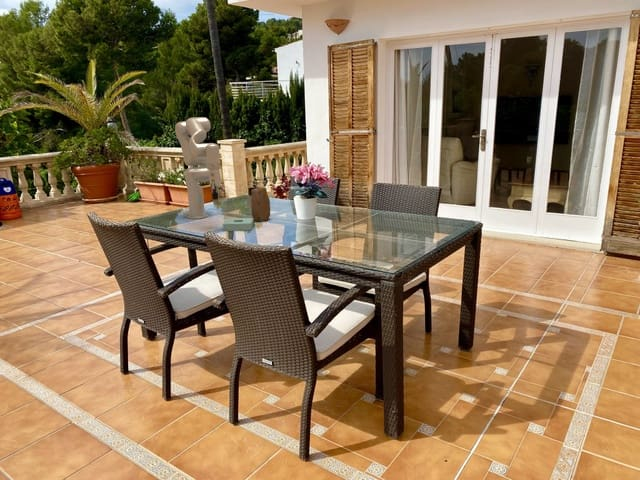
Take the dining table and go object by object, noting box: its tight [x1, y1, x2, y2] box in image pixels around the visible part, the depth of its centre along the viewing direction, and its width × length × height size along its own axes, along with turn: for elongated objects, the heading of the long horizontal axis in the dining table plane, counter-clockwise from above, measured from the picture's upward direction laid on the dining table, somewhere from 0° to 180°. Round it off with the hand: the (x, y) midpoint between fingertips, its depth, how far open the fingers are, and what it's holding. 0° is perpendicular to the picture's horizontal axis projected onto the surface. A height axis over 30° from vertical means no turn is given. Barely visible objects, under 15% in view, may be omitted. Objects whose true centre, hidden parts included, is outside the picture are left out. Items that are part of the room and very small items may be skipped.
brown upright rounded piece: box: [251, 186, 271, 223], centre depth 302 cm, size 11×8×20 cm
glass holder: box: [247, 186, 268, 212], centre depth 331 cm, size 9×14×15 cm, turn 70°
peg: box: [212, 186, 221, 205], centre depth 282 cm, size 4×4×10 cm
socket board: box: [222, 217, 255, 232], centre depth 286 cm, size 16×14×4 cm
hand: (216, 198), depth 282 cm, fingers closed on peg, 3 cm apart
